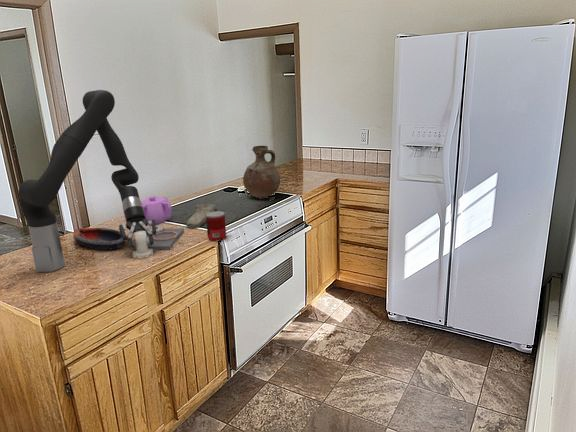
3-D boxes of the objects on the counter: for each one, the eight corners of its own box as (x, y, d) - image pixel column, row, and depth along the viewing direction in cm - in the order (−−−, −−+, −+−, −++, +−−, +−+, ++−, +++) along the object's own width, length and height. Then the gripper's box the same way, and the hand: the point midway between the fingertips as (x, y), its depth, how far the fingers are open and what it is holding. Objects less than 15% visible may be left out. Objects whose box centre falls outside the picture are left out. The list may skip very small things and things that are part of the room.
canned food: (229, 237, 190) (228, 213, 187) (215, 242, 185) (213, 217, 182) (218, 233, 195) (217, 210, 192) (204, 238, 190) (202, 214, 187)
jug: (237, 197, 259) (234, 146, 250) (265, 191, 272) (263, 143, 263) (259, 204, 243) (256, 150, 234) (288, 197, 256) (286, 145, 248)
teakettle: (140, 227, 208) (137, 202, 204) (134, 218, 222) (131, 195, 219) (176, 222, 215) (173, 197, 211) (168, 213, 230) (165, 191, 226)
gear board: (169, 249, 178) (168, 241, 177) (133, 250, 178) (132, 242, 177) (184, 231, 200) (183, 224, 199) (151, 232, 200) (150, 224, 199)
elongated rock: (181, 231, 205) (202, 232, 204) (180, 221, 203) (201, 222, 202) (201, 207, 237) (219, 208, 237) (201, 198, 236) (219, 199, 235)
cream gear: (149, 258, 169) (146, 235, 166) (129, 258, 169) (126, 235, 166) (156, 251, 176) (153, 229, 174) (137, 251, 177) (134, 229, 174)
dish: (104, 256, 173) (102, 244, 172) (64, 242, 191) (62, 231, 189) (137, 244, 185) (136, 233, 184) (96, 232, 203) (95, 222, 201)
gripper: (114, 208, 170) (123, 245, 164) (152, 202, 177) (162, 238, 170) (114, 217, 176) (123, 254, 170) (150, 212, 183) (160, 246, 176)
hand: (142, 245), depth 170 cm, fingers open, 6 cm apart
